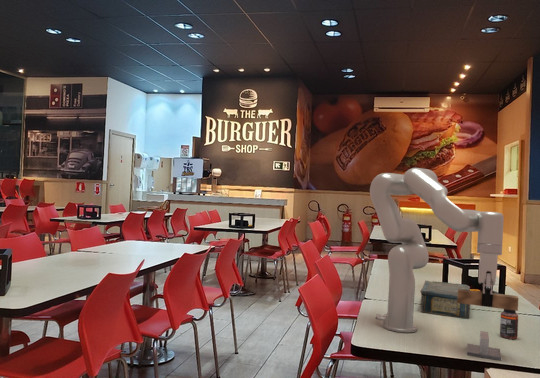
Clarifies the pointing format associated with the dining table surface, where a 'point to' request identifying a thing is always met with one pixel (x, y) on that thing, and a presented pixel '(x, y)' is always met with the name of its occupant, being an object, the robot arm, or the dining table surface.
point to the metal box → (443, 299)
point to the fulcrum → (483, 348)
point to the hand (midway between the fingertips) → (486, 304)
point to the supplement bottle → (509, 324)
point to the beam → (498, 302)
